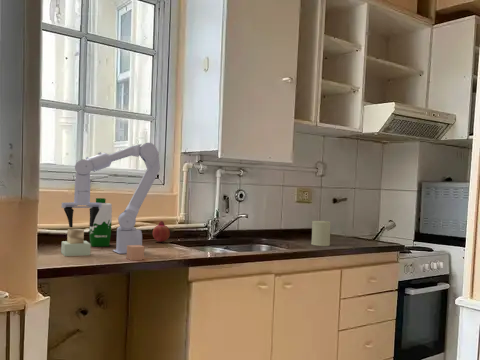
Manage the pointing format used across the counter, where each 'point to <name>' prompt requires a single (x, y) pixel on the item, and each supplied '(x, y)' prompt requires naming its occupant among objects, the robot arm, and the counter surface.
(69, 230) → the maple cube
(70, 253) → the sage block
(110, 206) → the milk carton
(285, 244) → the counter surface
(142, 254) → the terracotta cube
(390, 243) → the counter surface
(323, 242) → the can
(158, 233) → the fruit
